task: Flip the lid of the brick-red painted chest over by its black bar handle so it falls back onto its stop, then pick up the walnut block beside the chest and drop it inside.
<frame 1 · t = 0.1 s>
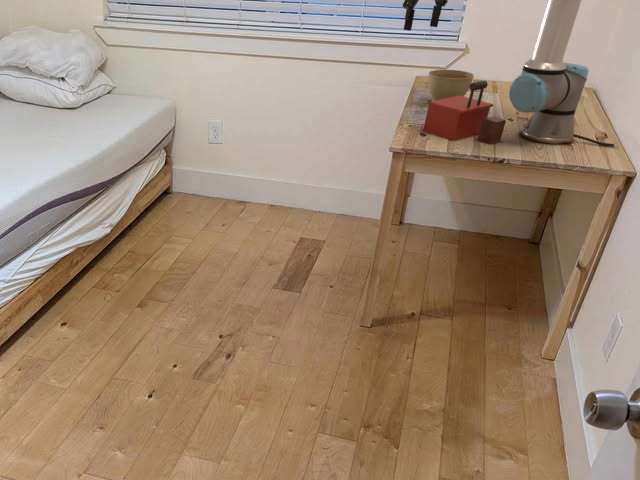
hand: (420, 28, 239), 28 cm above the table, tool pointing down, fingers open, 13 cm apart
lid: (463, 92, 225), point 13 cm above the table, hinge at -0.1°
cup and saucer: (456, 116, 248), on the table
planter bowl: (444, 103, 264), on the table
block: (488, 140, 224), on the table
chest: (453, 131, 232), on the table
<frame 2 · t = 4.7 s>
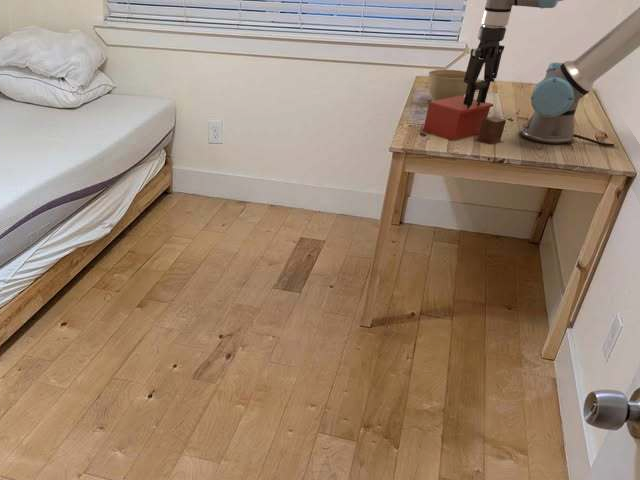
hand: (474, 103, 223), 10 cm above the table, tool pointing down, fingers closed on lid, 6 cm apart
lid: (463, 92, 225), point 13 cm above the table, hinge at -0.1°, touching gripper
everything else where it was.
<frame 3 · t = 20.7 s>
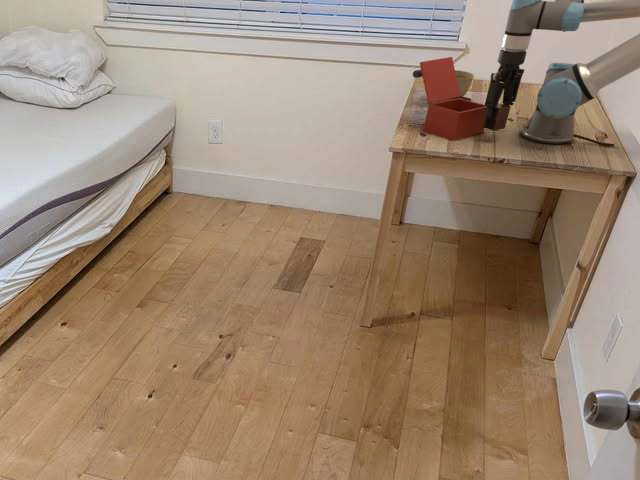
hand: (493, 126, 221), 5 cm above the table, tool pointing down, fingers closed on block, 5 cm apart
lid: (431, 83, 234), point 13 cm above the table, hinge at 120.1°
block: (493, 127, 222), point 4 cm above the table, touching gripper
everything else where it was.
when the fingers open (8 cm above the table, at t = 27.4 s): block stays where it is, resting on chest.
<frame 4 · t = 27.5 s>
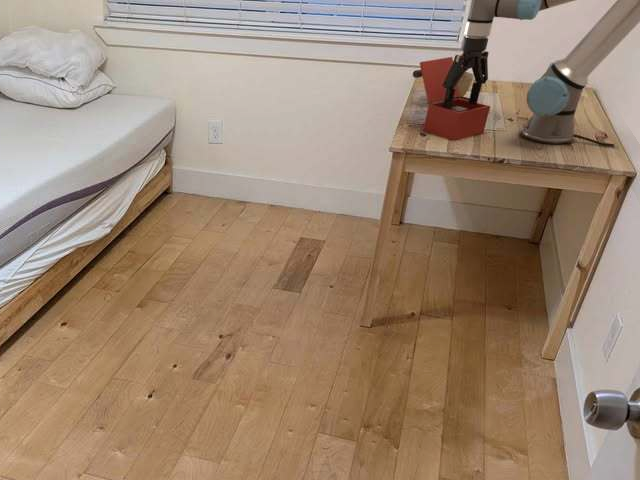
hand: (459, 106, 227), 8 cm above the table, tool pointing down, fingers open, 12 cm apart
block: (452, 129, 232), point 1 cm above the table, touching chest
everything else where it was.
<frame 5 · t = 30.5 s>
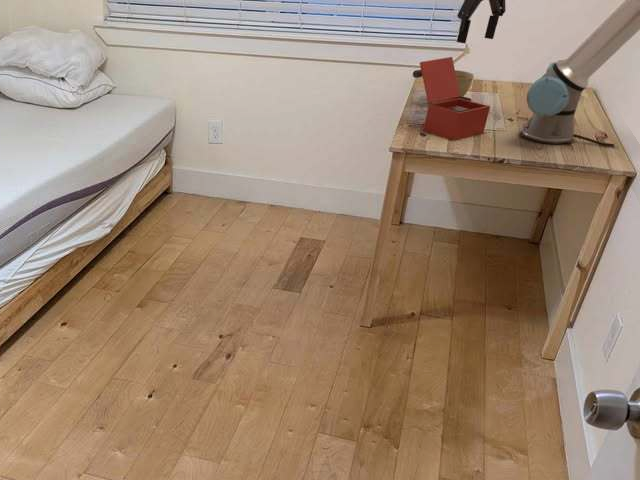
hand: (475, 40, 216), 29 cm above the table, tool pointing down, fingers open, 13 cm apart
nothing on the table moved.
at the end: lid at +120° (first picture: +0°); block inside the target area in the chest (0.3 cm from its centre), point 0.8 cm above the chest's base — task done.
